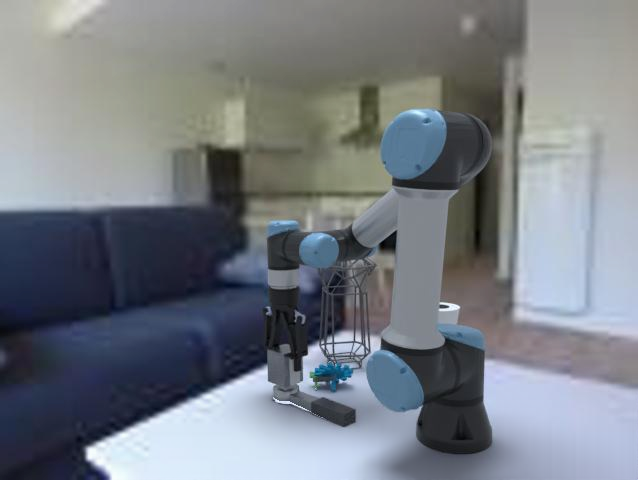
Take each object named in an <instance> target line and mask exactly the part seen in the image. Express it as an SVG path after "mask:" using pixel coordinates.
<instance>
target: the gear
mask: <svg viewBox="0 0 638 480" xmlns="http://www.w3.org/2000/svg"><path fill="white" fill-rule="evenodd" d="M342 365H343V363H336V364H335V366H334V363H332V362H329V363H327V362H326V364H325V365H324V364H323V363H321V364H319V366H318V367H314V371H310V372H309V378H310V379H312V383H314V389H315V388H316V389H317V390H318V383H330V382H331V384H330V385H331V386H330V387H331V388H330V389H331V390H330V391H331V392H332V391H335V392H336V389H337V388H336V383H335V382H337V383H339V382H340V380H341V381H343V382H346V381H347V380H348V378H349V379H350V378H351V379H352V375H353V374H354V369H349V368H350V365H348V364H344V366H342Z"/></svg>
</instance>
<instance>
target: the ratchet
mask: <svg viewBox="0 0 638 480" xmlns="http://www.w3.org/2000/svg"><path fill="white" fill-rule="evenodd" d="M273 397H274V398H275V399H277V400H279V401H290V402H292V403H294V404H296V405H298V406H301V407H303V408H305V409H307V410H309V411H311V412H312V413H314V414H316V415H318V416H320V417H323V418H325V419H327V420H326V421H328V420H329V421H328V422H330V421H331V423H333V424H335V423H336V425H339V426H340V427H343V428H345V427H347V426H349V425H350V424H353V423H356V422H357V421H356V419H357V418H356V417H357V415H356V413H357V411H356V408H353V407H351V406H348V405H346V404H343V403H339V402H337V401H334V400H331V399H329V398H326V397H317V396H314V395H312V394H309V393H306V392H303V391H301V390H300V385H299V384H295V385H291V386H288V387H285V388H284V387H281V386H279V385H276V384H273V386H272V398H273ZM318 416H317V417H318ZM320 417H319V418H320ZM323 418H322V419H323ZM325 419H324V420H325Z"/></svg>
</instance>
